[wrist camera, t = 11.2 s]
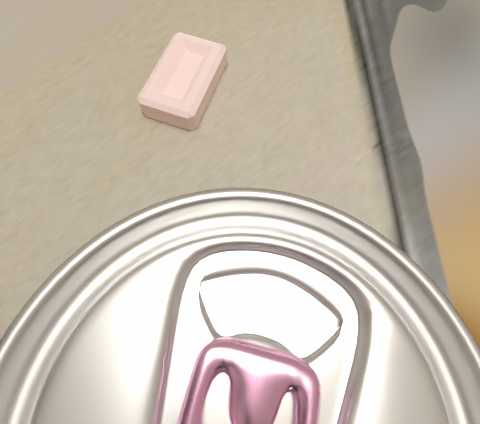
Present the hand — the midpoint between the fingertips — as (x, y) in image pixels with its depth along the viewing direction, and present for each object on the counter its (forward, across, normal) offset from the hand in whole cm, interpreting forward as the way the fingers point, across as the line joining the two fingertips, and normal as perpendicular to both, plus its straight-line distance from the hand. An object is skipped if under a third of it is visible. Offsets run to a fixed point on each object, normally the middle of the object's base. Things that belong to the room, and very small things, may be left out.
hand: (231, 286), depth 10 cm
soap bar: (+21, +4, -6) cm, 22 cm away
